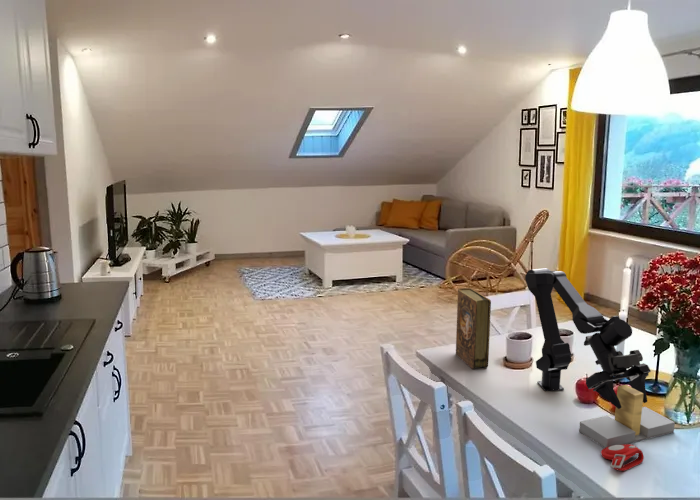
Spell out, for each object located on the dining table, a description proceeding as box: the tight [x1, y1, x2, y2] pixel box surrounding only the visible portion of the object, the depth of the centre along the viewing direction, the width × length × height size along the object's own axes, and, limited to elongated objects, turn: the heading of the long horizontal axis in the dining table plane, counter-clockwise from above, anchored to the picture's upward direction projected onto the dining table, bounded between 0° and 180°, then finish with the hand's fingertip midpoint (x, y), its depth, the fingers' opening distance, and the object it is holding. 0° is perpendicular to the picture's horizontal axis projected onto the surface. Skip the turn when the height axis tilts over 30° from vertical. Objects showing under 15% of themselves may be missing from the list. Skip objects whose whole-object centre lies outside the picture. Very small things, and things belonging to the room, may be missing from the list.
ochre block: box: [614, 384, 644, 435], centre depth 162 cm, size 6×3×12 cm, turn 21°
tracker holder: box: [600, 443, 644, 472], centre depth 149 cm, size 12×4×10 cm
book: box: [455, 287, 492, 370], centre depth 211 cm, size 16×6×25 cm, turn 14°
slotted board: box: [578, 406, 676, 449], centre depth 163 cm, size 10×24×3 cm, turn 111°
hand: (633, 405), depth 160 cm, fingers open, 9 cm apart
